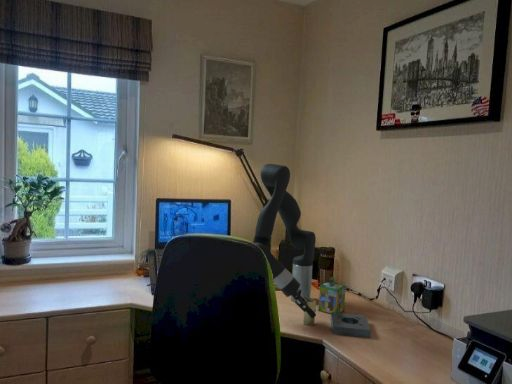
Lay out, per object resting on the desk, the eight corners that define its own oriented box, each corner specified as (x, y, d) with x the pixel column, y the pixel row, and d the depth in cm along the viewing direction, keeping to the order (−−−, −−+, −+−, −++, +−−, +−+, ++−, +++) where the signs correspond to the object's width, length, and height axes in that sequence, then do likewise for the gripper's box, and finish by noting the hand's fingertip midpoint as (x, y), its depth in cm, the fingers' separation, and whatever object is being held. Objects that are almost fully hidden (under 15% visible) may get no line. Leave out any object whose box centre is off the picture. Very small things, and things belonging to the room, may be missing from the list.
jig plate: (330, 319, 173) (330, 312, 173) (364, 322, 171) (365, 315, 171) (332, 334, 157) (333, 326, 157) (370, 337, 155) (370, 330, 155)
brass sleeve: (303, 321, 169) (304, 298, 168) (314, 322, 168) (315, 299, 168) (303, 325, 164) (304, 301, 164) (314, 326, 164) (315, 302, 163)
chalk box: (337, 316, 177) (339, 282, 177) (317, 311, 182) (319, 278, 181) (344, 310, 185) (347, 277, 184) (325, 305, 190) (328, 274, 189)
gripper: (292, 281, 159) (322, 314, 158) (293, 272, 173) (320, 303, 172) (277, 293, 160) (307, 326, 159) (280, 283, 174) (307, 314, 173)
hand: (314, 314), depth 166 cm, fingers open, 4 cm apart
